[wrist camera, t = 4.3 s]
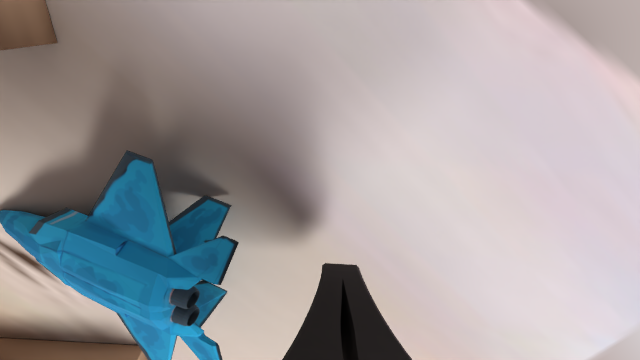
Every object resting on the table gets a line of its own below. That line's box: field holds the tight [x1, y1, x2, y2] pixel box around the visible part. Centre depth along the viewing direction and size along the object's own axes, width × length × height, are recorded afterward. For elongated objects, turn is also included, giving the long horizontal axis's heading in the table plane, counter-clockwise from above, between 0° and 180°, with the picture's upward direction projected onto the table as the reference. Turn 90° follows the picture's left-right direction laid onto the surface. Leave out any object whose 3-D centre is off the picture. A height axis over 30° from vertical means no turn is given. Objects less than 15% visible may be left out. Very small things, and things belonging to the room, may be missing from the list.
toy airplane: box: [0, 150, 239, 360], centre depth 14 cm, size 12×10×4 cm
